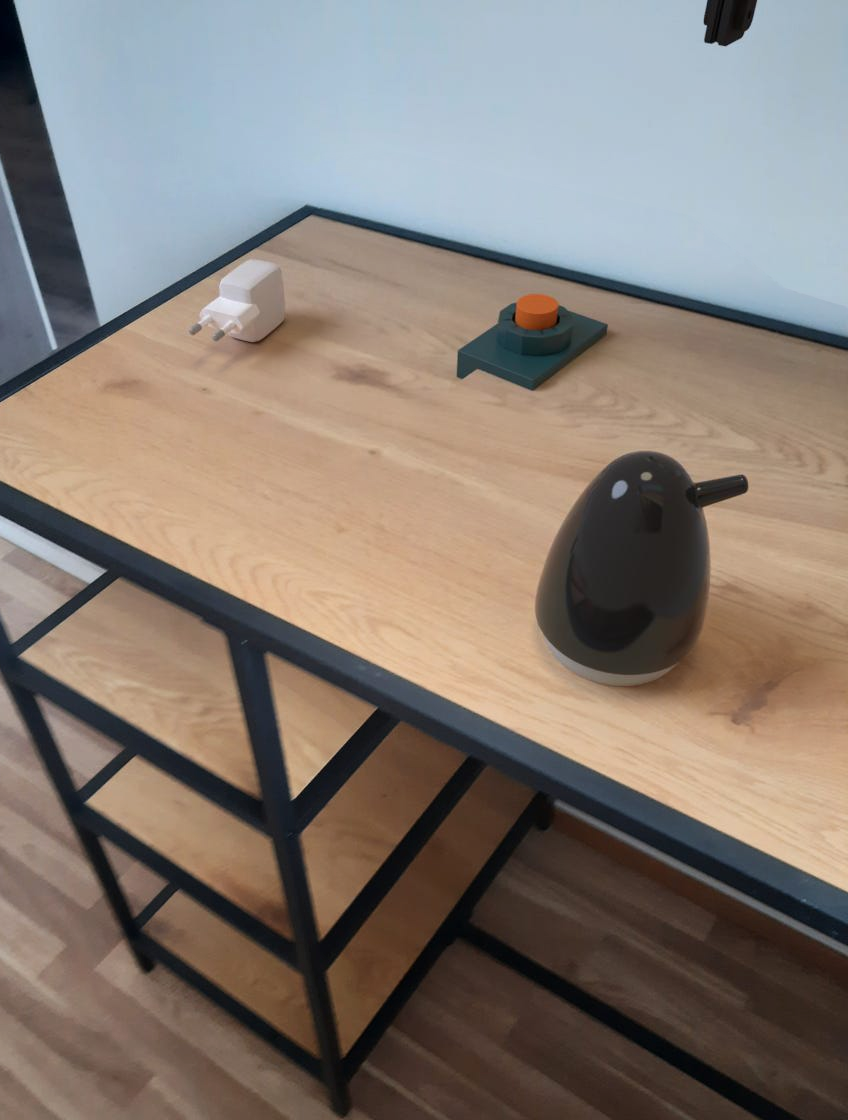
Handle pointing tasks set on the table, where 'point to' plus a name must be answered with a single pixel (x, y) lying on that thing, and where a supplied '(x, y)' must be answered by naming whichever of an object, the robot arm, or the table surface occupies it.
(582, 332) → the button housing
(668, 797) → the table surface
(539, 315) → the orange button
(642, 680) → the pump dispenser
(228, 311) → the power adapter
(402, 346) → the table surface
